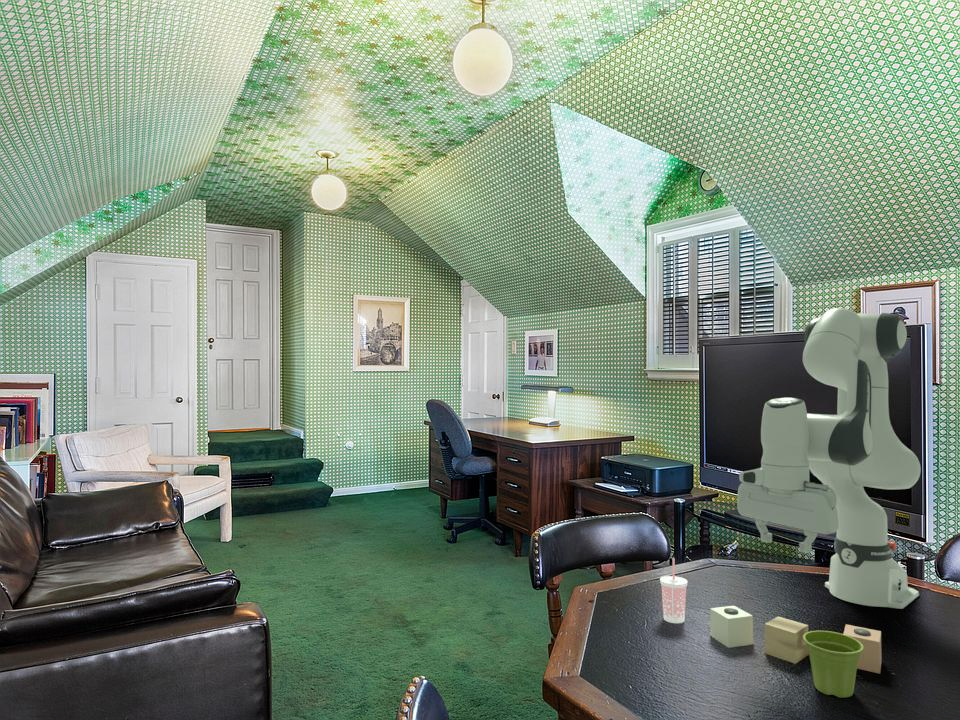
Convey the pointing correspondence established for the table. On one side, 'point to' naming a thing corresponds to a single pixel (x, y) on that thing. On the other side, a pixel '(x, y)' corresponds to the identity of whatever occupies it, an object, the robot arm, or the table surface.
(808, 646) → the plant pot
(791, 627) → the oak block
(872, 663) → the dot block tan
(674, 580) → the beverage cup
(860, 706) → the table surface
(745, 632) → the dot block cream
